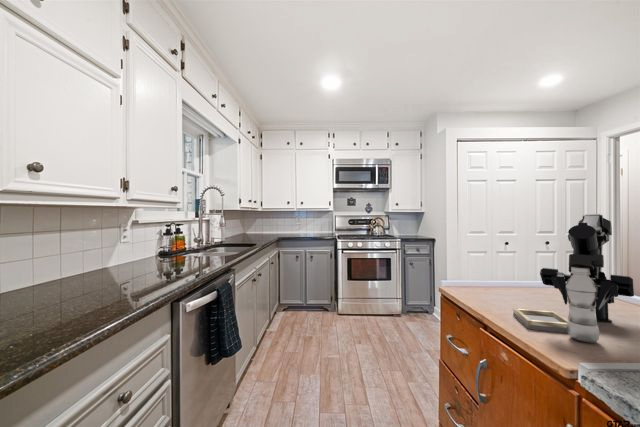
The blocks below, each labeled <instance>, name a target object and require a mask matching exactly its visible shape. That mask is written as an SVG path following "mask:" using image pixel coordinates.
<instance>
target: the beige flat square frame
mask: <svg viewBox="0 0 640 427" xmlns="http://www.w3.org/2000/svg"><path fill="white" fill-rule="evenodd" d="M512 315H513V316H514V317H515V319H517V320H518V321H519V322H520V323H522V325H523V326H524V327H525V328H527V330H528V329H530V330H539V331H549V332H557V333H558V332H559V333H568V332H567V322H568V318H566V317H565V316H563V315H561V314H560V313H559V312H556V311H554V310H553V311H552V310H551V311H550V310H542V309H541V310H538V309H527V308H526V309H524V308H513V314H512Z"/></svg>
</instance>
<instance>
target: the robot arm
mask: <svg viewBox="0 0 640 427" xmlns="http://www.w3.org/2000/svg"><path fill="white" fill-rule="evenodd" d="M612 235H613V227H612V221H610V219H607V218H604V215H603V214H600V213H592V214H591V213H590V214H587V213H586V214H583V215H582V219H580V220H579V221H578V222H577V224H576V225H574V226H572V227H570V228H569V229H568V234H567V239H568V241H569V242H570V246H571V248H572V249H573V250H572V253H570V254H569V255H568V272H569V273H570V274H565V273H563V272H559V269H558V268H548V267H542V268H541V269H540V271H539V275H540V278H541V282H542V284H543V285H545V286H550V287H551V286H552V287H553V288H554V289H556V290H557V289H558V290H559V292H560V294H561V296H562V299H563V302H564V305H568V296H567V291H566V282H567V281H568V279H569V278H570V277H571V276H572V275H573V274H572V273H571V267H572V266H578V267H588V268H589V269H590V275H589V277H590V278H591V279H592V280H593V281H594V283H595V284H596V285H597V287H598V292H597V299H596V308H595V309H596V319H597V322H607V323H613V320H612V319H610V318H609V317H610V316H609V305H610V304H615V298H618V297H619V296H624V297H629V298H631V297H634V296H635V288H634V285H635V284H634V279H633V278H632V277H631V276H628V275H621V274H610V277H609V278H610V279H607V275H606V273H605V272H603V271H602V268H604V266H605V261H604V260H605V259H604V254H603V245H605V244H607V243H608V242H609V241H610V236H612Z"/></svg>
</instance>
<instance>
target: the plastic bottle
mask: <svg viewBox="0 0 640 427" xmlns="http://www.w3.org/2000/svg"><path fill="white" fill-rule="evenodd" d="M571 273H572V274H573V275H572V276H571V277H570V278H569V279H568V281H567V282H566V291H567V297H568V302H567V304H568V317H567V319H568V322H567V332H566V333H567V334H568V336H569V337H570V338H572V339H574V340H576V341H580V342H583V343H584V342H585V343H597V342H598V341H599V340H600V336H601V332H600V329H599V325H598V321H597V319H596V309H595V308H596V299H597V292H598V287H597V285H596V284H595V283H594V281H593V280H592V279H591V278H590V277H589V275H590V269H589V268H588V267H578V266H572V267H571V272H570V274H571Z"/></svg>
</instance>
